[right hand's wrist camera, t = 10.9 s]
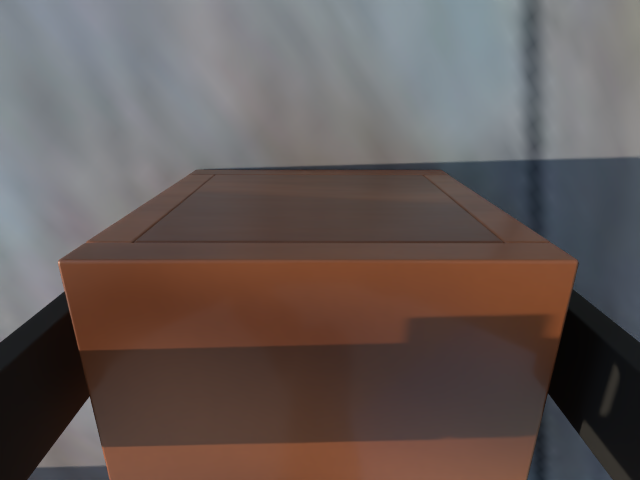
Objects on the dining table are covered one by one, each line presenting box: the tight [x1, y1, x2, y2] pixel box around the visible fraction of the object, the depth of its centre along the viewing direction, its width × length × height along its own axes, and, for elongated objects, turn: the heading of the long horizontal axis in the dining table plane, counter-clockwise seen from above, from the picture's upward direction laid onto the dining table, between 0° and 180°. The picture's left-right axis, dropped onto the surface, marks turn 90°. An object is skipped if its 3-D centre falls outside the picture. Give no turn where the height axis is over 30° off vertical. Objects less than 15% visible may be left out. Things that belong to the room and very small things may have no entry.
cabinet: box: [58, 170, 579, 480], centre depth 16 cm, size 19×10×10 cm, turn 0°
